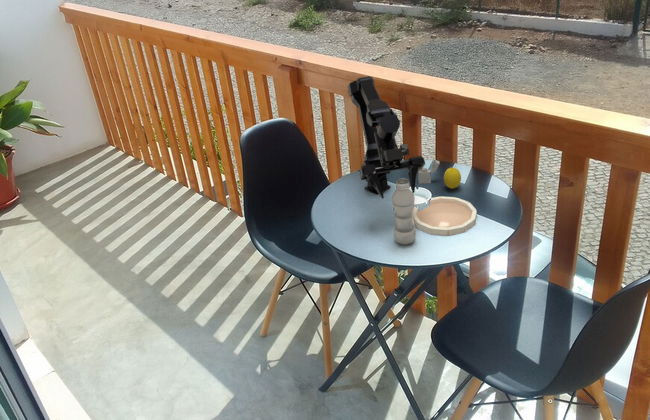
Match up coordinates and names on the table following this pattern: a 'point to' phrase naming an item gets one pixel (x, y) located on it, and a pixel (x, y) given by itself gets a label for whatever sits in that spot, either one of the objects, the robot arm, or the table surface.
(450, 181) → the lemon
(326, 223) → the table surface
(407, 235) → the plastic bottle
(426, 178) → the lighter
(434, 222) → the round tray
